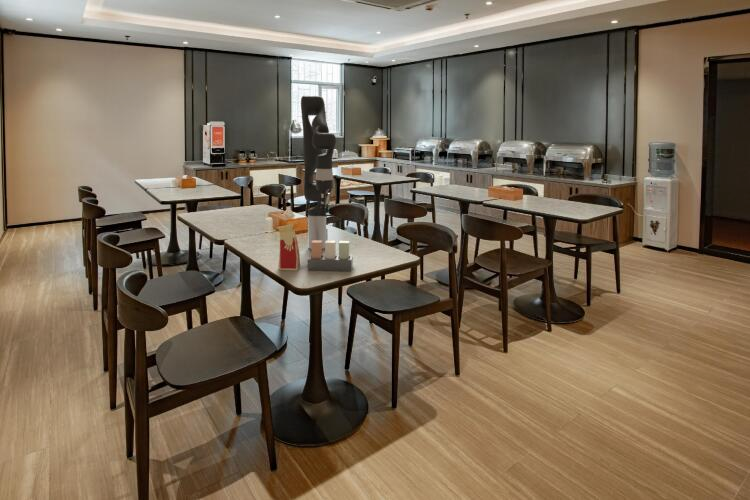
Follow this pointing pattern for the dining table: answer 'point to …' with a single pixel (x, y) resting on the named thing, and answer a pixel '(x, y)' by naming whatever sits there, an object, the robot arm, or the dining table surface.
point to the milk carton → (288, 249)
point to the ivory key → (330, 249)
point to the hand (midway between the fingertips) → (324, 214)
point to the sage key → (343, 249)
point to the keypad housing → (330, 264)
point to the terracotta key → (316, 249)
